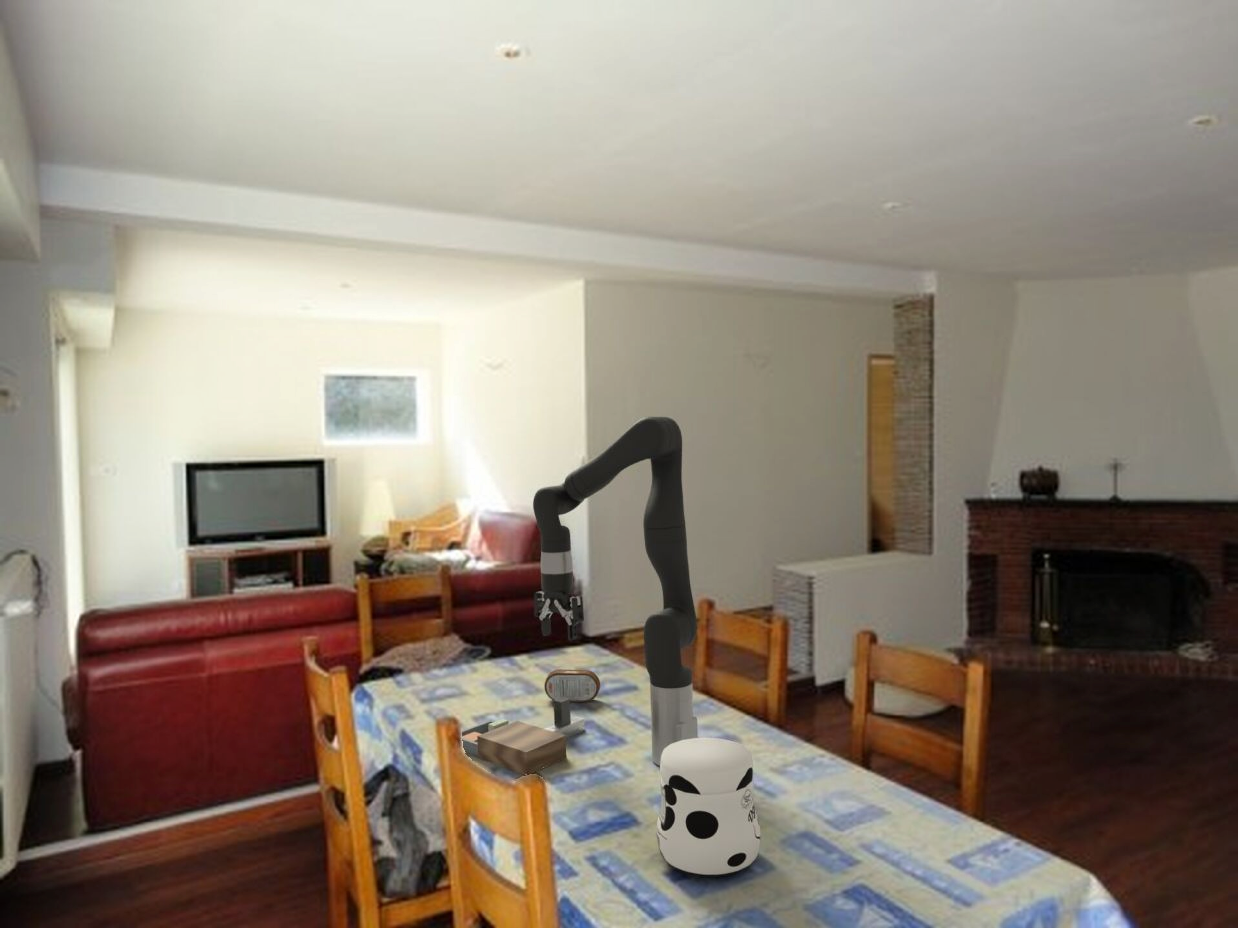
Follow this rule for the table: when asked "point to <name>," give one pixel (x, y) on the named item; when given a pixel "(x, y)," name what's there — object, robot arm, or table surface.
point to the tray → (470, 745)
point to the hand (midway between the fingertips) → (559, 637)
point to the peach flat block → (472, 736)
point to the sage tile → (497, 724)
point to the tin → (572, 685)
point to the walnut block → (521, 747)
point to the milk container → (707, 807)
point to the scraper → (565, 719)
